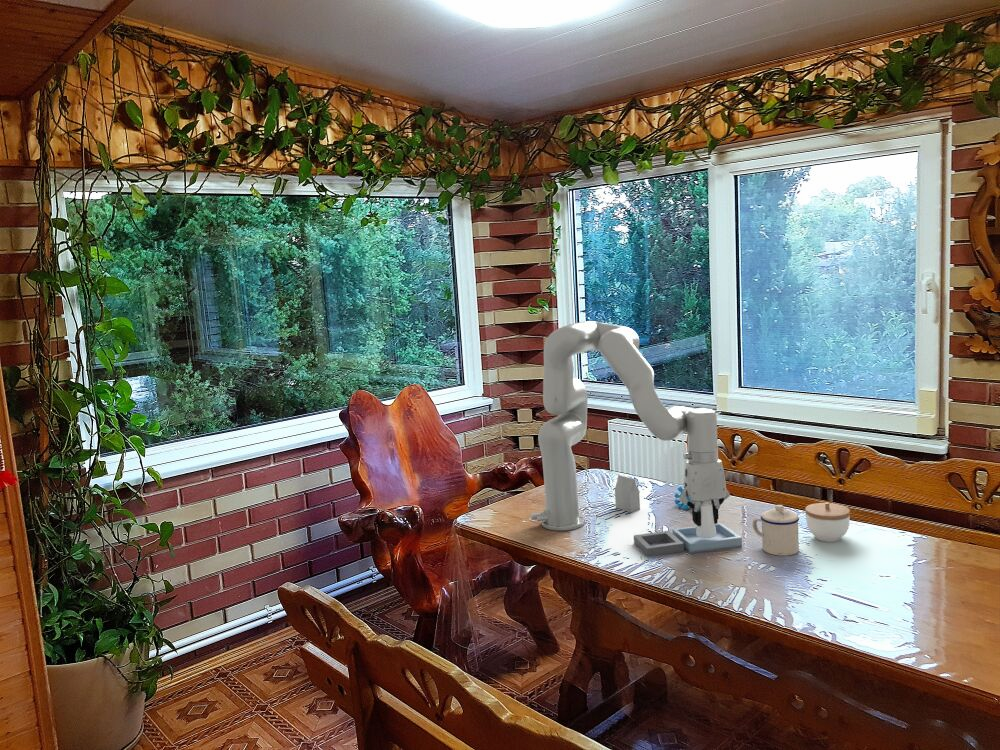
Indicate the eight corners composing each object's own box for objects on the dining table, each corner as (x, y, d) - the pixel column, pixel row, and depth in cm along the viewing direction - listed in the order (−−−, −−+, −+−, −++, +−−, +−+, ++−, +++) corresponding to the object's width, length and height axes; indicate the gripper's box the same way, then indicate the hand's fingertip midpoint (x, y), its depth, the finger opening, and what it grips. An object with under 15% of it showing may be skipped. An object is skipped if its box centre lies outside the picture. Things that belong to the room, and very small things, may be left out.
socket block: (647, 556, 194) (646, 548, 194) (634, 543, 204) (633, 535, 204) (684, 551, 196) (683, 543, 195) (669, 538, 206) (668, 530, 205)
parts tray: (691, 553, 194) (690, 544, 194) (672, 537, 206) (672, 529, 205) (742, 546, 196) (741, 537, 196) (721, 531, 208) (720, 522, 208)
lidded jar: (852, 546, 191) (852, 510, 190) (806, 544, 195) (806, 509, 193) (848, 531, 201) (847, 497, 200) (804, 529, 205) (803, 496, 203)
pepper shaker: (691, 535, 201) (690, 495, 199) (702, 529, 204) (700, 490, 203) (710, 539, 197) (708, 499, 195) (720, 533, 201) (719, 493, 199)
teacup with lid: (806, 548, 192) (805, 504, 190) (788, 559, 186) (787, 514, 184) (762, 538, 201) (761, 495, 199) (744, 548, 195) (743, 504, 193)
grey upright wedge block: (631, 512, 229) (629, 480, 227) (615, 507, 234) (614, 476, 233) (640, 509, 231) (638, 477, 229) (624, 504, 236) (622, 473, 235)
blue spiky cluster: (667, 499, 233) (687, 474, 234) (678, 509, 236) (697, 484, 237) (688, 513, 223) (709, 487, 224) (699, 524, 226) (720, 498, 227)
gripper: (678, 463, 193) (681, 532, 195) (739, 455, 195) (741, 523, 198) (667, 456, 200) (670, 522, 203) (726, 449, 203) (728, 515, 205)
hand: (705, 522), depth 200 cm, fingers closed on pepper shaker, 3 cm apart
